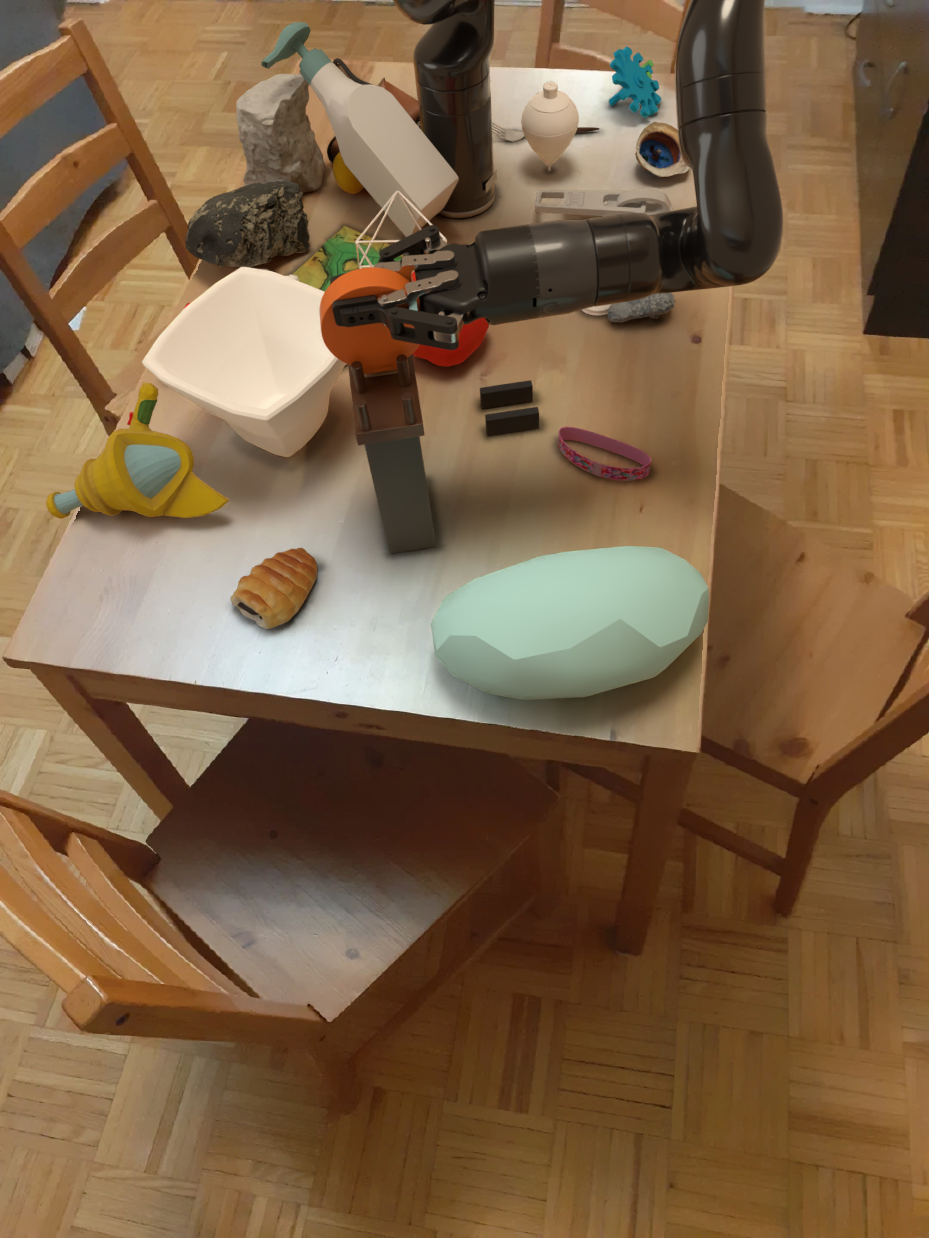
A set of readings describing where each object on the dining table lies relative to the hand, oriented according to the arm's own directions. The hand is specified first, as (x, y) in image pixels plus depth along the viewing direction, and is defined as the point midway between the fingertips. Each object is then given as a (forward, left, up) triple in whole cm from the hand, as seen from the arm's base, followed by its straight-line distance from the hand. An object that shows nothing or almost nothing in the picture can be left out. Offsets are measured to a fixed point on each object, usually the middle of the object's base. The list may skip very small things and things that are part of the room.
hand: (333, 302), depth 78 cm
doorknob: (-45, +27, -24) cm, 57 cm away
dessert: (-23, +64, -22) cm, 71 cm away
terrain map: (-35, +19, -27) cm, 48 cm away
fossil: (-6, +43, -26) cm, 50 cm away
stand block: (+3, +1, -28) cm, 28 cm away
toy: (-24, -19, -17) cm, 35 cm away
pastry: (+3, -15, -28) cm, 32 cm away
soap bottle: (-32, +30, -23) cm, 49 cm away
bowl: (-16, -2, -28) cm, 32 cm away
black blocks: (-1, +19, -28) cm, 33 cm away
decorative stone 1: (-53, +23, -28) cm, 65 cm away
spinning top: (-34, +52, -28) cm, 68 cm away
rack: (+3, +1, -10) cm, 10 cm away
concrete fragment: (-50, +17, -21) cm, 57 cm away
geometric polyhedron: (-27, +29, -28) cm, 48 cm away
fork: (-41, +57, -28) cm, 75 cm away
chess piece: (-9, +39, -28) cm, 49 cm away
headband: (+11, +22, -28) cm, 37 cm away
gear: (-37, +71, -28) cm, 85 cm away
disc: (+1, +3, -7) cm, 8 cm away
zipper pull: (-20, +50, -28) cm, 61 cm away
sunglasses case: (-57, +39, -28) cm, 74 cm away
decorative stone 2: (+28, 0, -29) cm, 41 cm away
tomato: (-16, +20, -28) cm, 37 cm away
